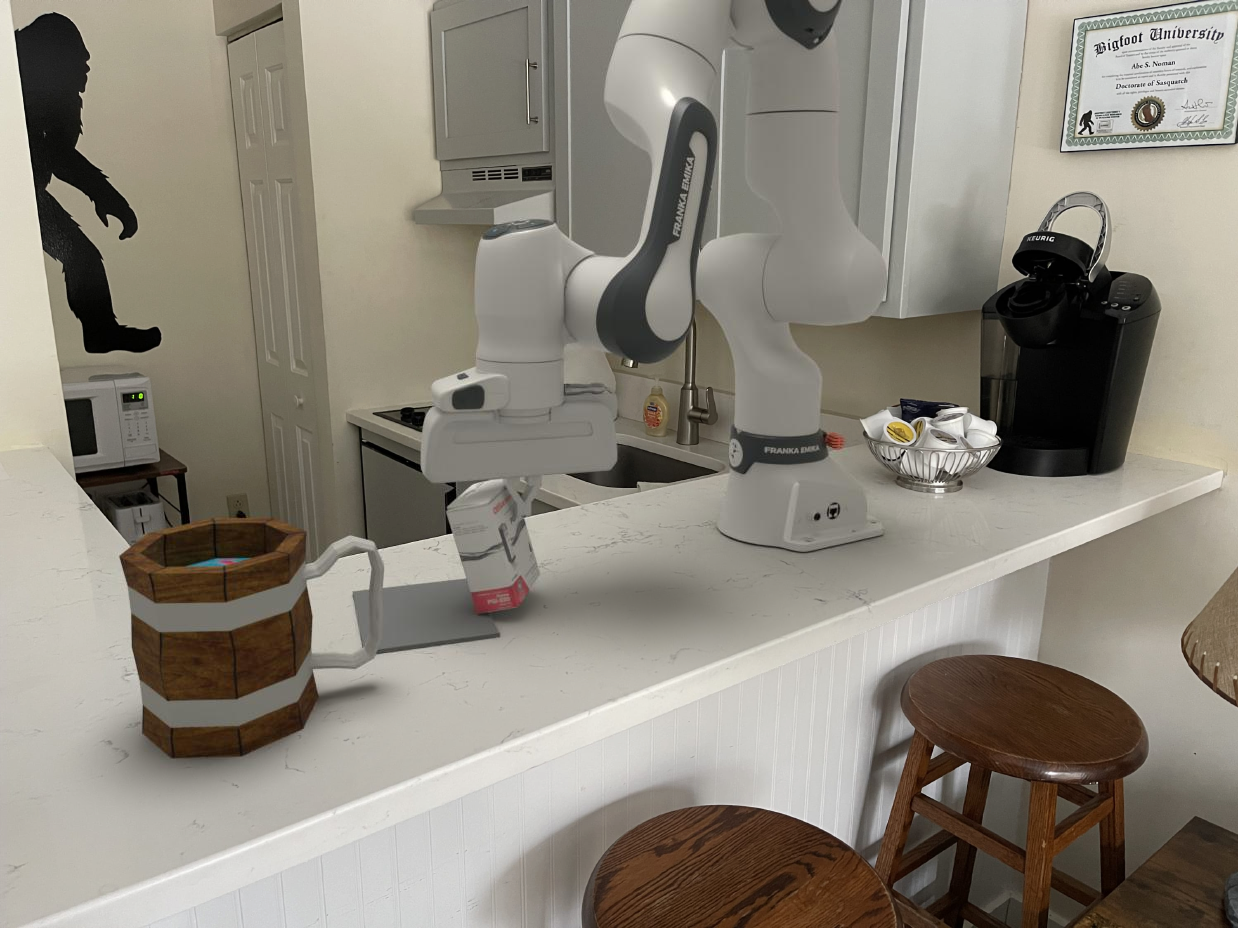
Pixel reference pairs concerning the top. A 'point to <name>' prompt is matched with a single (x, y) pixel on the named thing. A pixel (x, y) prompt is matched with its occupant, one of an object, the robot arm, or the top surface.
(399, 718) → the top surface
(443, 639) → the mat
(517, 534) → the ink box
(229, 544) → the mug
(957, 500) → the top surface
